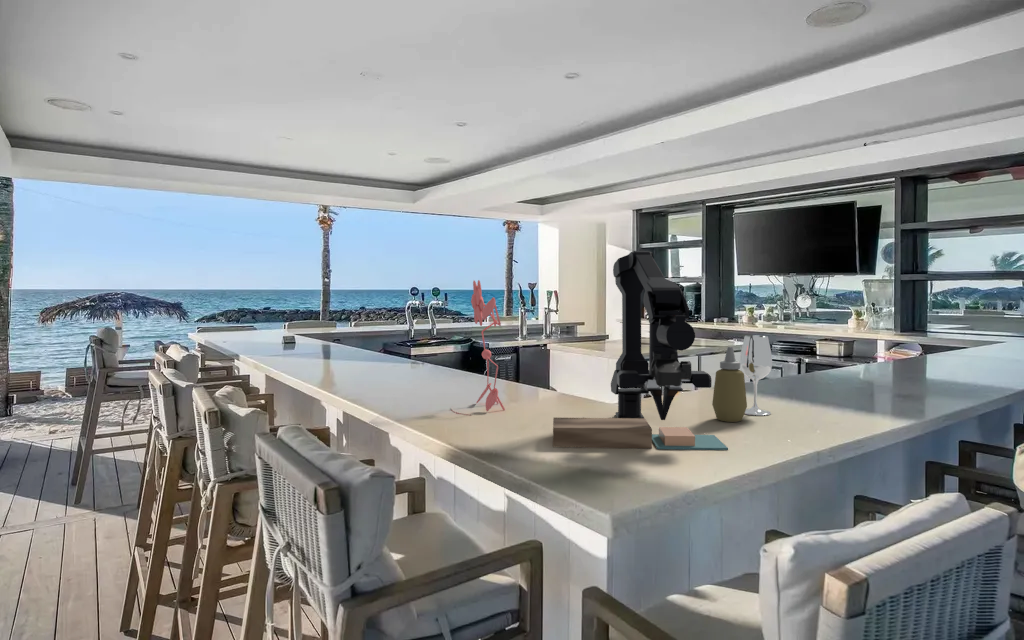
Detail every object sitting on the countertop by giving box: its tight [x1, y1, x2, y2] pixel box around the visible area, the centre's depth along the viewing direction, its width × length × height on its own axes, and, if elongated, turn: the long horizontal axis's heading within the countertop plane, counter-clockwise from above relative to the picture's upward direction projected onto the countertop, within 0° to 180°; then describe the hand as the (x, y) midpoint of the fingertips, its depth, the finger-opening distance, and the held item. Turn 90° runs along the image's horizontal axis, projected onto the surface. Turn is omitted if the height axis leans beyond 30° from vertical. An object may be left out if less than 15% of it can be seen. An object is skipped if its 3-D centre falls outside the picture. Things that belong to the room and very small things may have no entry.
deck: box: [552, 417, 653, 449], centre depth 130 cm, size 10×20×4 cm, turn 86°
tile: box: [658, 426, 695, 446], centre depth 129 cm, size 8×6×2 cm
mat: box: [652, 433, 729, 451], centre depth 129 cm, size 11×14×1 cm
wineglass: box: [739, 334, 773, 417], centre depth 158 cm, size 8×8×20 cm
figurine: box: [452, 279, 506, 416], centre depth 166 cm, size 15×26×35 cm, turn 12°
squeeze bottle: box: [711, 346, 748, 423], centre depth 150 cm, size 8×8×18 cm
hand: (662, 419), depth 129 cm, fingers closed
